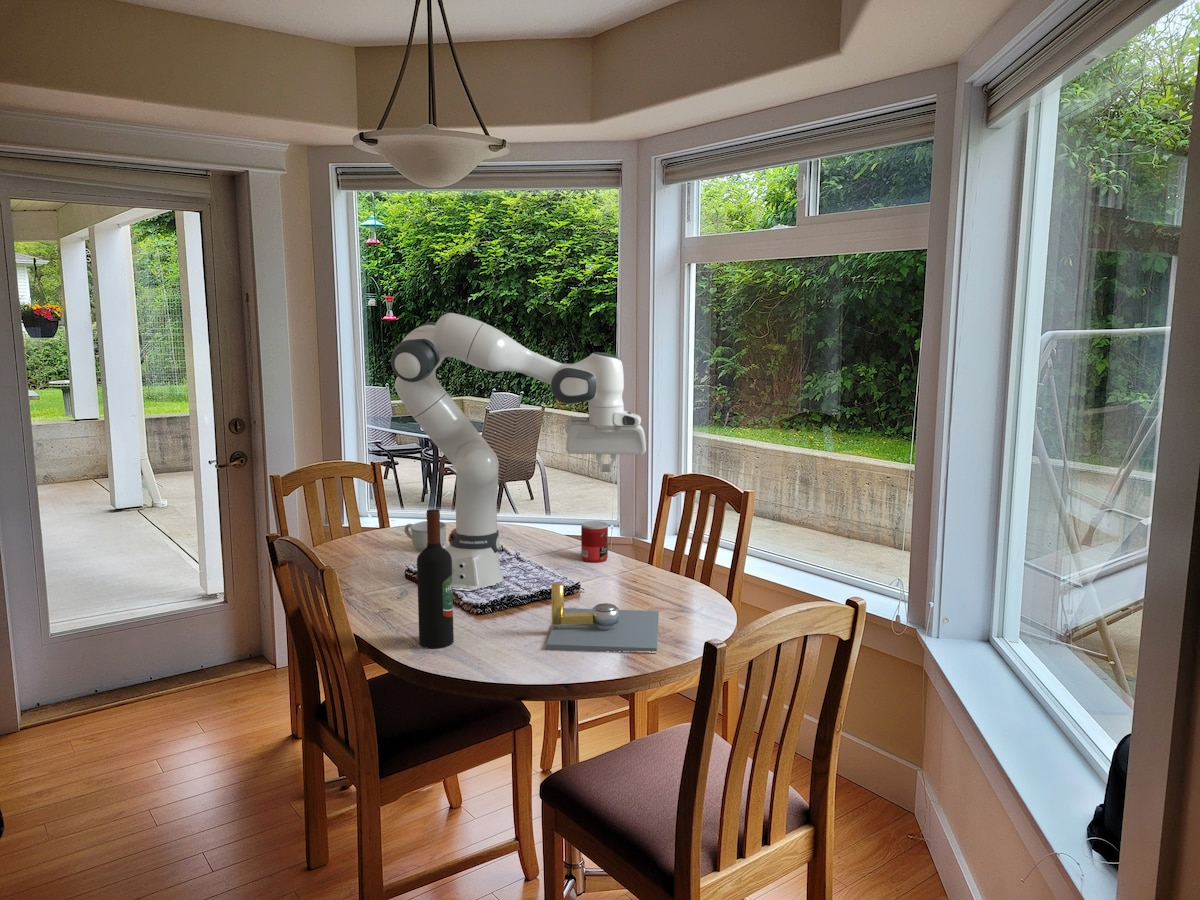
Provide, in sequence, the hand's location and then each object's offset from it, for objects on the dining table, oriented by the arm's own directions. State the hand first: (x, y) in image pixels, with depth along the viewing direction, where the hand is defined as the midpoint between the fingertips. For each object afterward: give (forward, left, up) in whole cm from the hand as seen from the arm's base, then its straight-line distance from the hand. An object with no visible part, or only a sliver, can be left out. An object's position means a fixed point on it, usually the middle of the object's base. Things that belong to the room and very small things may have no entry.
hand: (606, 471), depth 217 cm
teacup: (-60, +42, -33) cm, 81 cm away
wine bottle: (-35, -35, -33) cm, 60 cm away
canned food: (-6, +35, -33) cm, 49 cm away
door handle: (-3, -26, -31) cm, 40 cm away
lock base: (+2, -25, -33) cm, 41 cm away
